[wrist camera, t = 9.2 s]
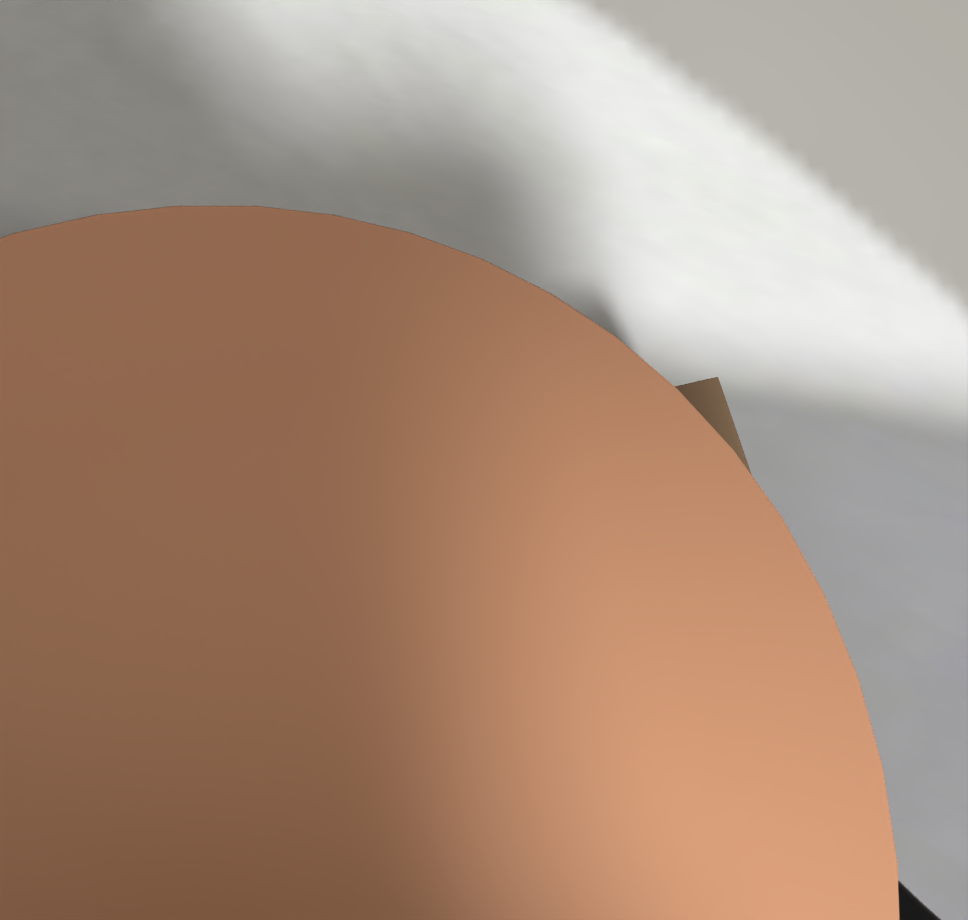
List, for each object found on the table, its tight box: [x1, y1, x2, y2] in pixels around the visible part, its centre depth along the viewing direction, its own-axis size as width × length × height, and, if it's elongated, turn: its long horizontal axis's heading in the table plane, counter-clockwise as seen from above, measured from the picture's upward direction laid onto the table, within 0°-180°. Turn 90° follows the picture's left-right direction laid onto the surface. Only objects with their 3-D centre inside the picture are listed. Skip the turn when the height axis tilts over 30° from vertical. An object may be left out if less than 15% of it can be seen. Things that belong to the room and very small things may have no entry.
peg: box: [0, 206, 899, 920], centre depth 9 cm, size 4×4×13 cm
